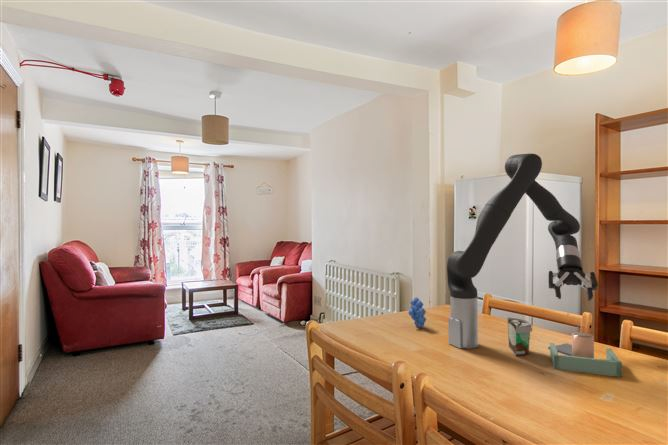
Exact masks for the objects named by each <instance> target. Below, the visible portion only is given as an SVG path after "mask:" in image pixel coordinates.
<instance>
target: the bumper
mask: <svg viewBox="0 0 668 445" xmlns="http://www.w3.org/2000/svg"><path fill="white" fill-rule="evenodd" d="M549 347H550V349H549V356H550V359H551V361H552V364H553V369H555V370H561V371H569V372H576V373H577V372H579V373H587V374H594V375H601V376H611V377H616V378H617V377H618V378H623V362H622V360H620V359H619V358H618V356H617V355H616V354H615V352H614V350H612V348H608V347H607V348H606V349H605V350H606V351H605V353H606V354H605V356H606V359H605V358H604V359H602V358H596V357H594V358H586V357H577V356H569V355H566V354H559V352H557V349H556V344H555V342H549Z"/></svg>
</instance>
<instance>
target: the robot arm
mask: <svg viewBox="0 0 668 445" xmlns="http://www.w3.org/2000/svg"><path fill="white" fill-rule="evenodd" d="M542 166H543V162H542V157H540V156H539V155H538V154H536V153H521V154H512V155H510V156H509V157H507V159H506V160H505V164H504V171H505V173H506V175H507V176H508V178H510V181H509V182H508V183H507V185H505V186H504V187H503V188H502V189H501V190H499V191H498V192H497V193H495V194H494V195H493V196H492V197H490V199H489V200H488V201H487V202H486V203H485V204H484V207H483V208H482V210H481V211H480V213H479V215H478V217H477V220H476V226H475V231H474V235H473V238H472V240H471V241H470V242H469V244H468V246H467V248H466V249H465V250H456V251H453V252H452V253H451V254H450V255H449V256H448V258H447V261H446V273H447V274H446V275H447V276H446V278H447V285H448V289H449V298H450V300H449V301H450V302H449V303H450V307H449V310H450V316H448V318H447V319H448V320H447V321H448V322H447V323H448V325H447V326H448V329H447V330H448V344H449V345H451V346H454V347H455V348H458V349H475V348H478V347H479V316H478V314H479V313H478V312H479V311H478V309H479V308H478V304H479V303H478V302H479V301H478V290H477V287H475V285H474V282H473V280H472V279H473V278H474V277H476V276H477V275H478V274H479V273H480V271H481V270H482V267H483V266H484V264H485V261H486V259H487V257H488V254H489V253H490V251H491V249H492V246H493V245H494V244H495V242H496V241H497V239H498V237H499V235H500V233H501V232H502V231H503V229H504V227H505V226H506V224H507V223H508V221H509V219H510V217H511V216H512V214H513V212H514V211H515V209H516V207H517V206H518V205H519V203H520V201H521V199H523V197H524V195H527V197H528V198H529V199H530V200H531V201H532V202H533V204H534V205H535V206H536V207H537V209H538V210H539V212H540V213H541V214H542V216H543V217H544V219H545V220H546V221H550V223H549V224H548V226H547V230H548V233H549V234H550V236H551V237H552V239H553V242H554V245H555V251H556V252H555V253H556V254H555V260H556V266H557V272H554V271H552V270H549V271H548V275H547V276H548V289H553V290H554V291H555V292H554V293H555V297H556V298H557V299H558V300H561V299H562V293H561V288H563V287H564V285H567V286H572V285H573V286H579V287H580V288H582V289H584V290H585V291H586V296H587V301H589V302H590V301H591V300H592V299H593V297H594V292H593V291H598V287H599V283H598V280H597V277H596V274H595V272H593V271H591V272H590V273H585V272H584V269H583V263H582V259H581V254H580V251H579V247H578V246H579V245H578V240H577V239H576V237H575V236H573V235H575V234H578V232H580V229H581V224H580V222H579V220H578V219H577V218H576V217H575V216H573V214H571V213H570V212H568V211H567V210H566V209H564V207H563V206H562V205H561V203H560V202H559V201H558V199H557V198H556V196H555V195H554V194H553V193H552V192H551V191H550V190H548V189H547V188H546V187H544V186H542V184H540V183H539V182H537V181H536V179H537V178H538V176H539V175H540V173H541V170H542ZM556 277H557V278H558V280H557V282H556V283H554V280H555V279H556ZM586 278H587V279H588V281H590V282H588V281H587V279H586Z"/></svg>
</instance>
